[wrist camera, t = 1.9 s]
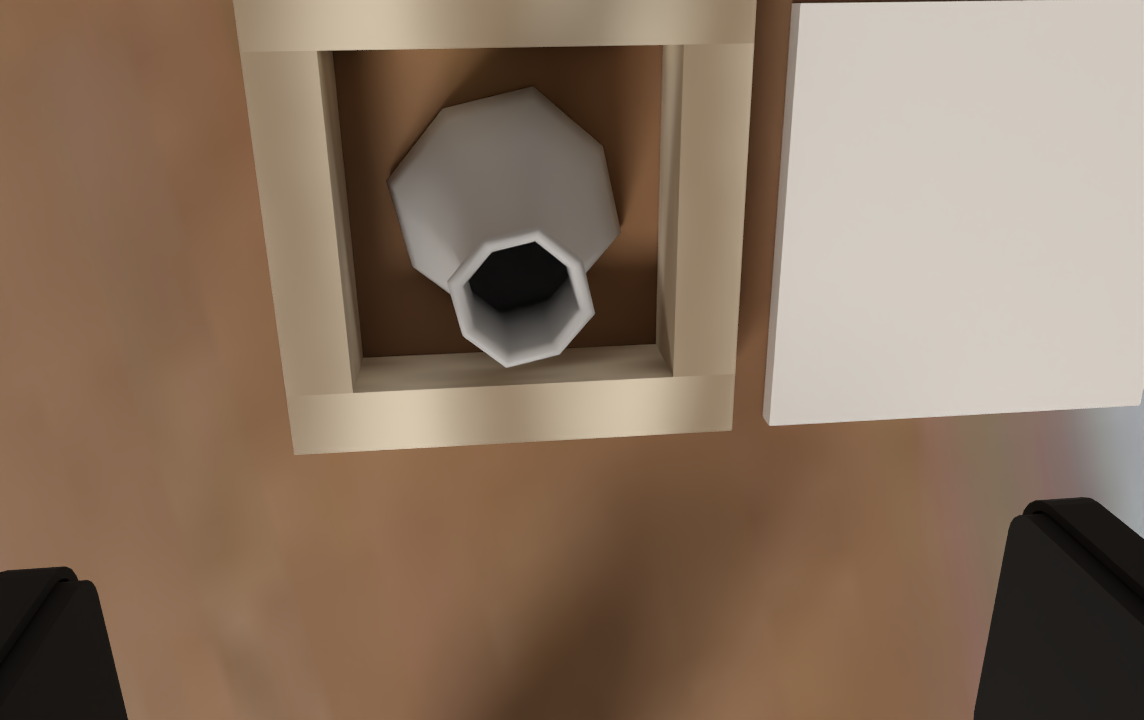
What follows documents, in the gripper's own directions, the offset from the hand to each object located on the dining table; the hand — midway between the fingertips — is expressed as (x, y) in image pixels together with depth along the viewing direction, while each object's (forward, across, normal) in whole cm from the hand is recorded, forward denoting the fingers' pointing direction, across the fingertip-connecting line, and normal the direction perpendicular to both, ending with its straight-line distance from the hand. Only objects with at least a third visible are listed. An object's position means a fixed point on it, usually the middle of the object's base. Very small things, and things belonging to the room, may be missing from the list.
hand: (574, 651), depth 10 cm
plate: (+22, -16, +1) cm, 27 cm away
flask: (+22, 0, 0) cm, 22 cm away
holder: (+22, 0, 0) cm, 22 cm away
